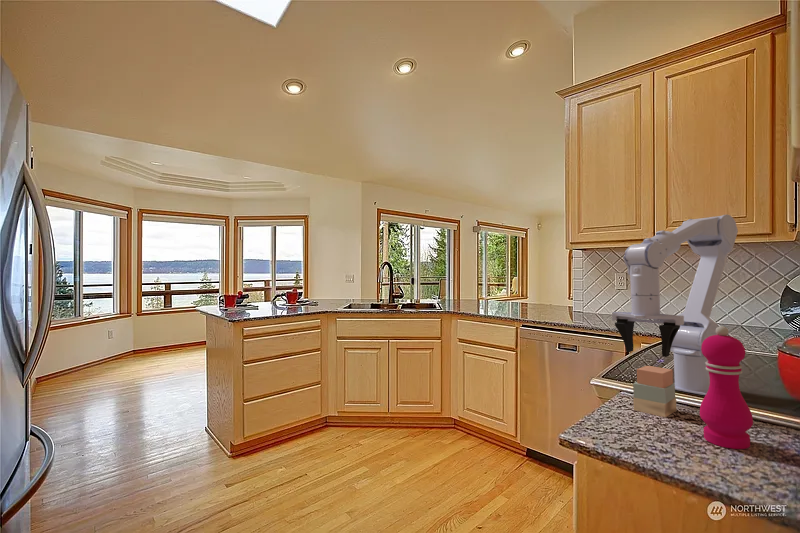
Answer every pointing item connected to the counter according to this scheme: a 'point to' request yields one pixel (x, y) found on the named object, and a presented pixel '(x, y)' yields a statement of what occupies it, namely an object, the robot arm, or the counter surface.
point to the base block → (655, 407)
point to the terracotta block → (655, 376)
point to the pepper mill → (725, 393)
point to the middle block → (654, 392)
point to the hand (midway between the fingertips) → (647, 353)
